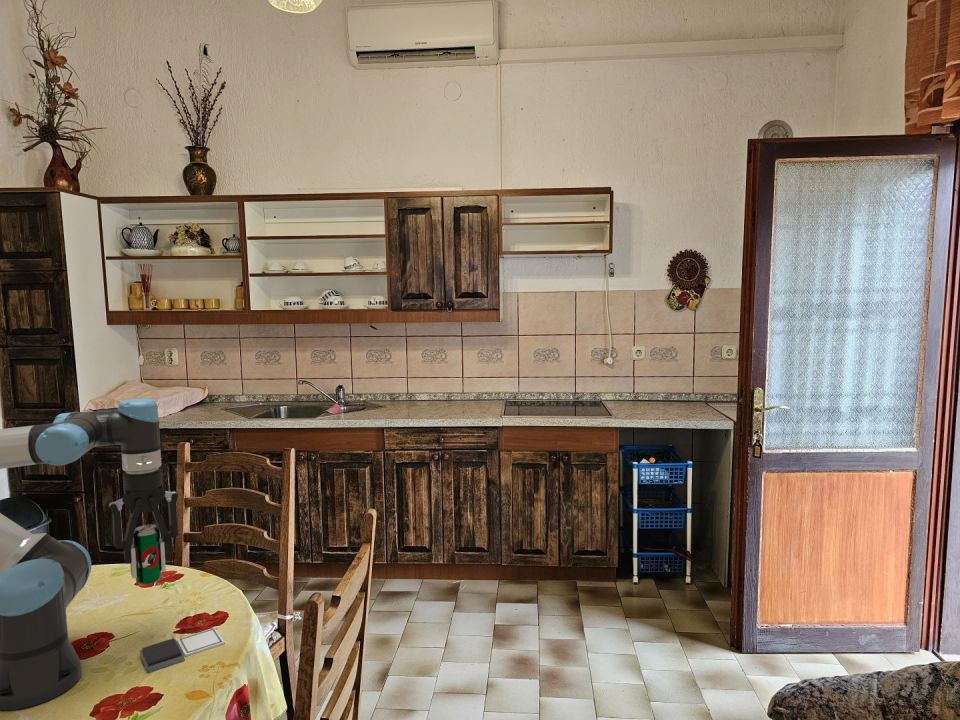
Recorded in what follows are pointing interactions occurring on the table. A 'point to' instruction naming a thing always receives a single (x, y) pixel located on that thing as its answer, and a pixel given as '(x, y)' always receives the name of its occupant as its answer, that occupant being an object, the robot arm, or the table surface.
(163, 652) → the ink pad
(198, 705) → the table surface
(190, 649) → the print card
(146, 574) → the soda can
